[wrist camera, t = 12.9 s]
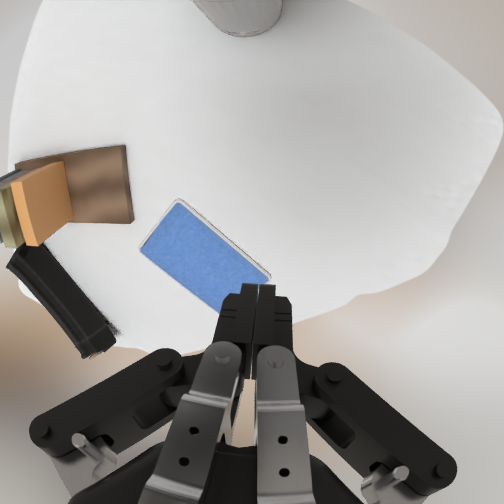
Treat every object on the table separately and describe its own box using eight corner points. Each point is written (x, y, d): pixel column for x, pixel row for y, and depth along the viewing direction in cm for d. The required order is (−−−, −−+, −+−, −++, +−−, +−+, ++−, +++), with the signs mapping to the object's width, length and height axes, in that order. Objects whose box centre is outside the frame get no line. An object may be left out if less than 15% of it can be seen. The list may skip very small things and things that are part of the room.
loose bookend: (51, 162, 36) (10, 183, 27) (63, 160, 36) (21, 181, 27) (62, 217, 41) (26, 245, 32) (73, 217, 41) (38, 246, 32)
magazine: (-5, 245, 37) (66, 382, 41) (-1, 237, 36) (72, 381, 40) (53, 226, 53) (113, 341, 57) (59, 219, 52) (121, 338, 56)
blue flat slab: (138, 247, 45) (135, 250, 44) (179, 194, 40) (176, 197, 39) (224, 313, 51) (223, 318, 50) (274, 274, 46) (274, 279, 44)
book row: (19, 162, 37) (-31, 187, 26) (125, 145, 36) (67, 170, 24) (31, 218, 44) (-13, 252, 32) (134, 219, 42) (89, 266, 30)
